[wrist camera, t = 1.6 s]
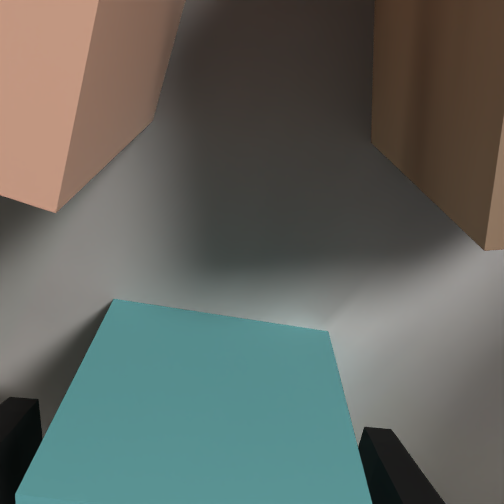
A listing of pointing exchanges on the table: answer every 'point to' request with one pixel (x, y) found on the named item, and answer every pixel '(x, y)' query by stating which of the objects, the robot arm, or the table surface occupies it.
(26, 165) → the terracotta cube
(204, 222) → the table surface
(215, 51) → the table surface
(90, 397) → the teal cube
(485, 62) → the walnut cube
